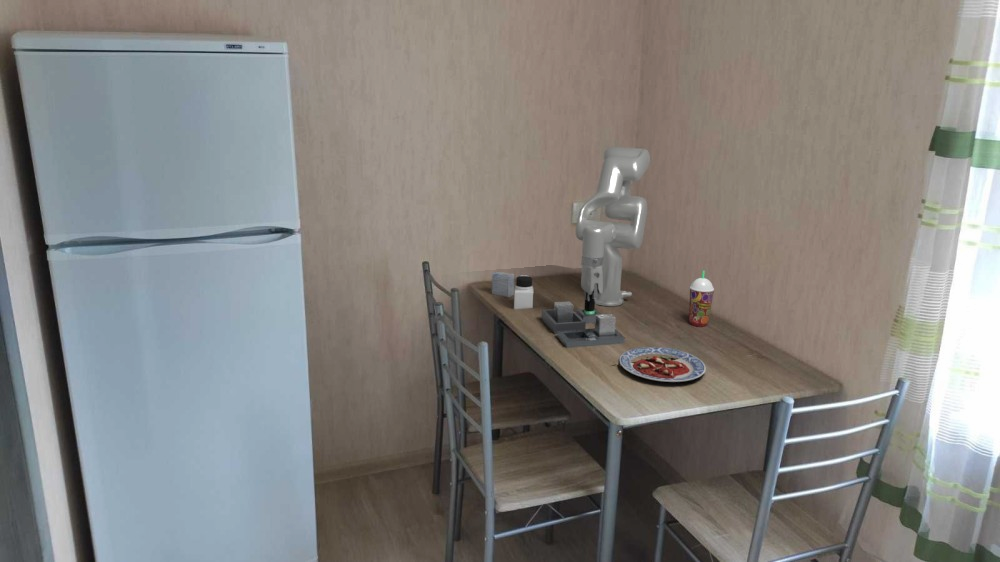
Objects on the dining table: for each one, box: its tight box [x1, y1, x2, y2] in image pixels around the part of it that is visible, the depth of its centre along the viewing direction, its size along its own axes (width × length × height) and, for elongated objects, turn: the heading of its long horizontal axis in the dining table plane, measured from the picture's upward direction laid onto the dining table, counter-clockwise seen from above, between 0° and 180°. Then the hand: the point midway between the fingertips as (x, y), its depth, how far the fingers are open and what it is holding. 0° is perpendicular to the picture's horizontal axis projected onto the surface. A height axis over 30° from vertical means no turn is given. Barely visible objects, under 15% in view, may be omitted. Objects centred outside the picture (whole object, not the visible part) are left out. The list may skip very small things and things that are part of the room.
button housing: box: [576, 308, 602, 325], centre depth 257 cm, size 7×7×4 cm
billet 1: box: [553, 301, 574, 323], centre depth 251 cm, size 6×4×8 cm
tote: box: [541, 308, 587, 335], centre depth 252 cm, size 11×15×4 cm
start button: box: [584, 310, 595, 314], centre depth 257 cm, size 4×4×4 cm
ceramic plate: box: [619, 346, 707, 383], centre depth 220 cm, size 26×26×3 cm
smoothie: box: [688, 270, 715, 328], centre depth 256 cm, size 8×8×20 cm
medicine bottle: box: [513, 275, 535, 310], centre depth 271 cm, size 7×7×12 cm
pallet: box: [556, 327, 626, 349], centre depth 239 cm, size 20×10×3 cm, turn 104°
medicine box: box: [491, 271, 515, 298], centre depth 286 cm, size 8×4×9 cm, turn 58°
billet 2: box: [594, 313, 617, 337], centre depth 239 cm, size 6×4×8 cm
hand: (589, 310), depth 257 cm, fingers closed
